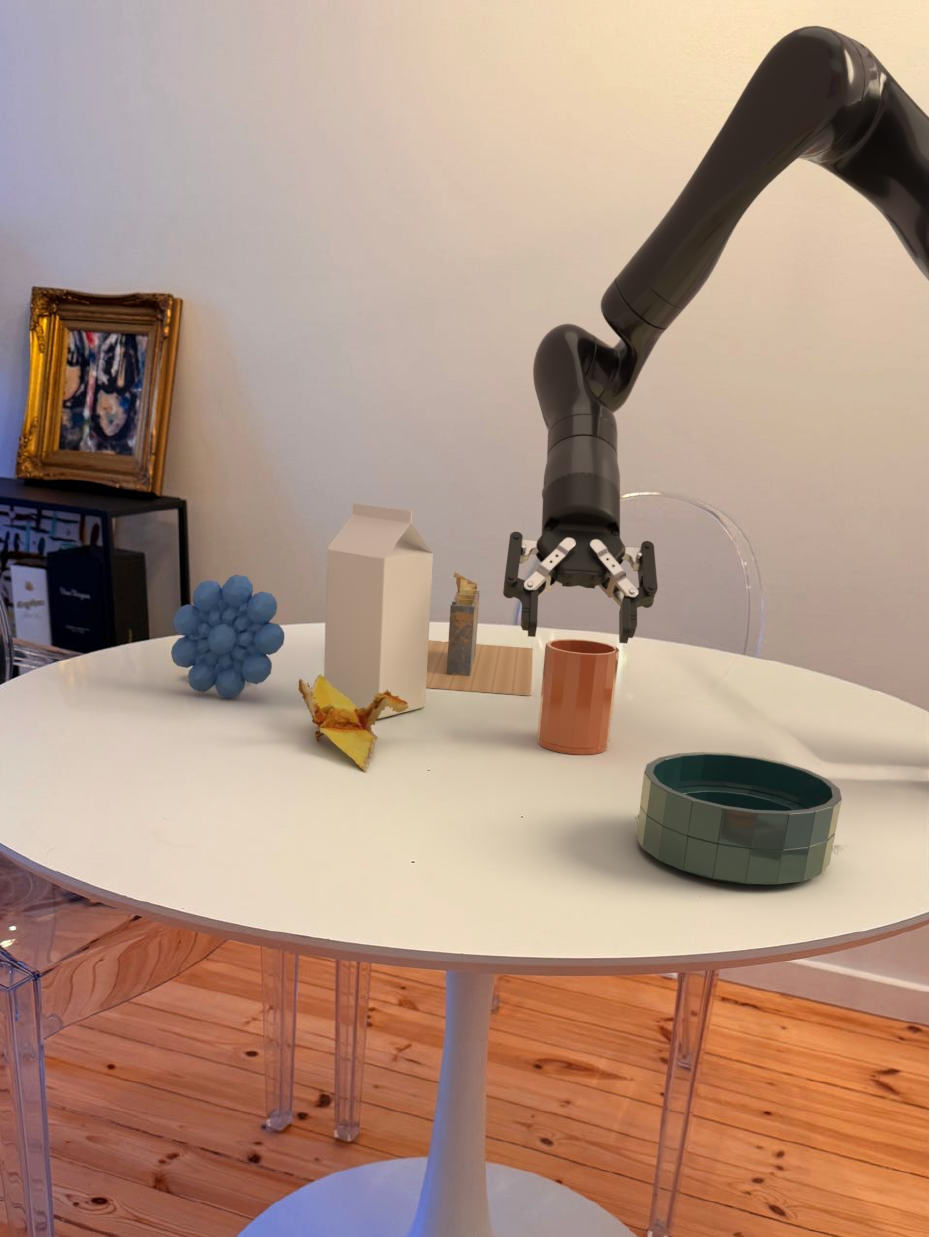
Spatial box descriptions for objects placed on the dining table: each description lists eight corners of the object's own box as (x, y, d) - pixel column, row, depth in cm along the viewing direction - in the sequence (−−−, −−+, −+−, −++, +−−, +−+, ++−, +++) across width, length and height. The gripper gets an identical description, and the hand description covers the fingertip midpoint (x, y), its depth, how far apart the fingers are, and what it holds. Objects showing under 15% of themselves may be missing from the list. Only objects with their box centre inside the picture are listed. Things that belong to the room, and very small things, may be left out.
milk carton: (377, 721, 107) (386, 512, 101) (322, 705, 111) (327, 503, 104) (425, 708, 113) (436, 509, 106) (371, 694, 116) (378, 501, 110)
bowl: (789, 824, 87) (801, 755, 85) (857, 895, 75) (873, 817, 73) (619, 818, 86) (627, 748, 84) (660, 889, 74) (671, 809, 72)
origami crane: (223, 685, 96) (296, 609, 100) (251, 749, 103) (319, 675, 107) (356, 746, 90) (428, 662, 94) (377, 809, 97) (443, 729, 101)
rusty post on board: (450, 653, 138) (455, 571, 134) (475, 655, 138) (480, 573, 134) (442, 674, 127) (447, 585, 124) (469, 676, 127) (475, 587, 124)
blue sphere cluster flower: (300, 695, 114) (302, 574, 110) (273, 711, 108) (274, 583, 104) (193, 681, 117) (191, 562, 113) (160, 696, 111) (157, 570, 106)
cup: (600, 735, 107) (611, 641, 104) (613, 756, 101) (625, 656, 98) (533, 733, 107) (541, 637, 104) (542, 753, 101) (551, 652, 98)
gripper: (511, 464, 108) (504, 606, 102) (661, 474, 109) (663, 617, 102) (506, 516, 115) (499, 652, 109) (646, 526, 115) (648, 663, 109)
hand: (578, 635), depth 105 cm, fingers open, 8 cm apart
